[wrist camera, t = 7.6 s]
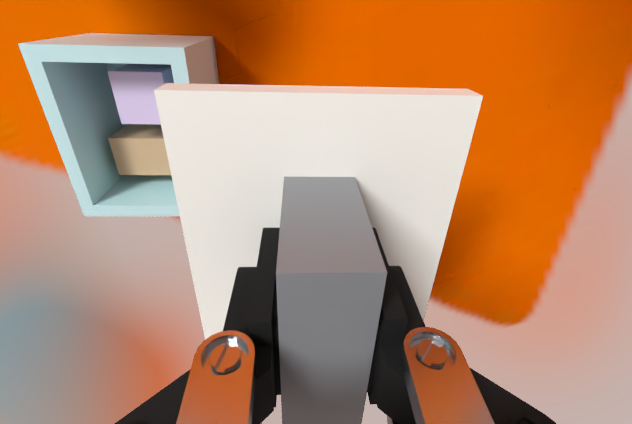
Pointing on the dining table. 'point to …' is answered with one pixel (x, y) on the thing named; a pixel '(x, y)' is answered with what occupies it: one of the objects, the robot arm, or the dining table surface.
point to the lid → (316, 213)
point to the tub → (115, 112)
